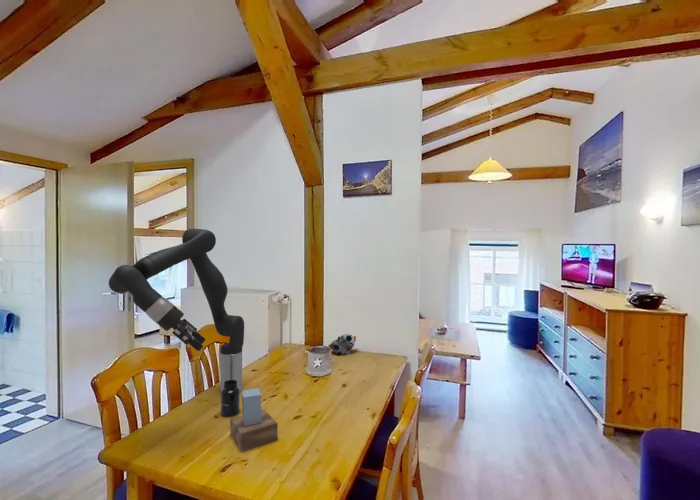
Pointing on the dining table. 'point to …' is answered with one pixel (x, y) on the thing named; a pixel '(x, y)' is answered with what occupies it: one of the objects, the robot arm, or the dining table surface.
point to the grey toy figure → (343, 344)
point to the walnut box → (253, 432)
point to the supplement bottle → (230, 398)
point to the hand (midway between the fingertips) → (202, 345)
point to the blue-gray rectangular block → (251, 406)
